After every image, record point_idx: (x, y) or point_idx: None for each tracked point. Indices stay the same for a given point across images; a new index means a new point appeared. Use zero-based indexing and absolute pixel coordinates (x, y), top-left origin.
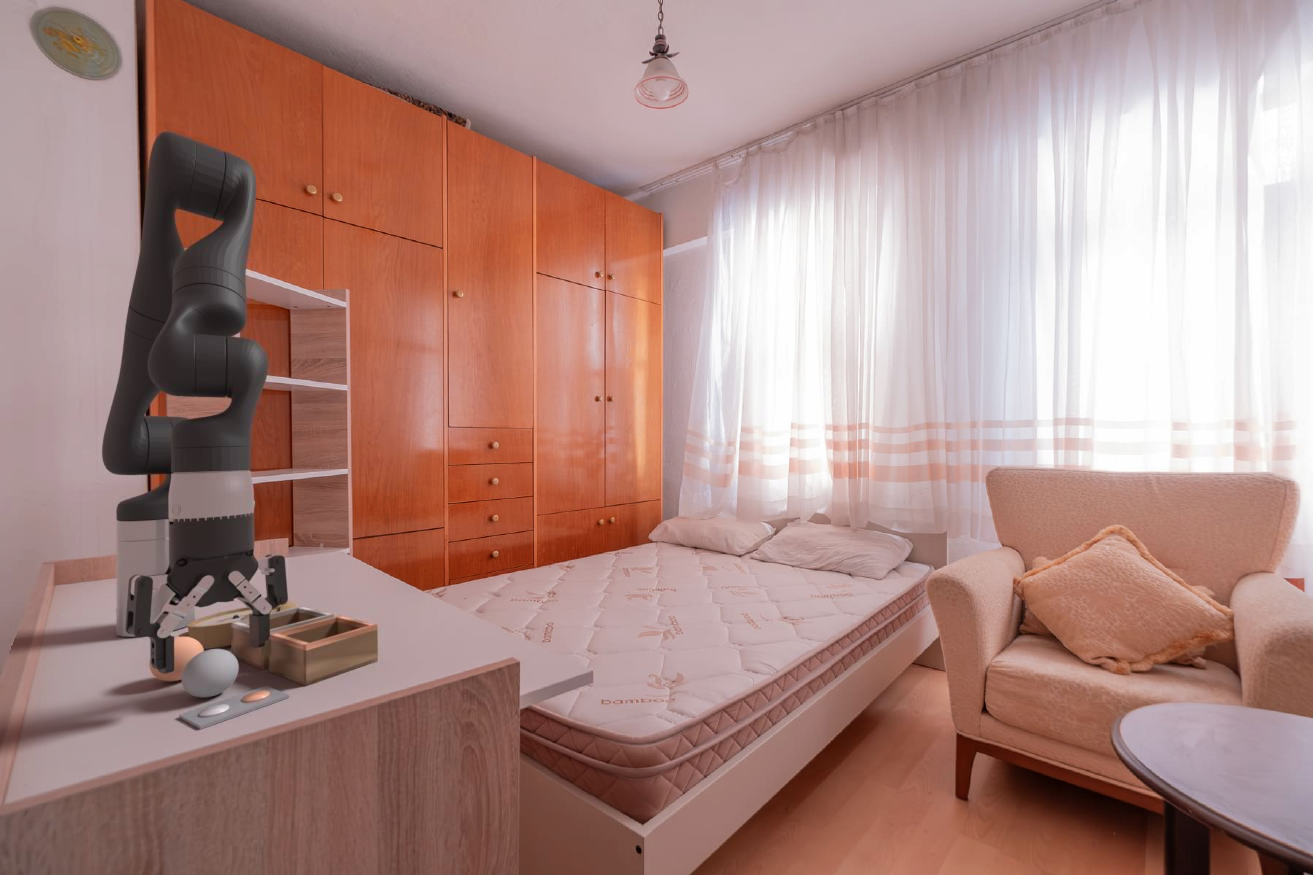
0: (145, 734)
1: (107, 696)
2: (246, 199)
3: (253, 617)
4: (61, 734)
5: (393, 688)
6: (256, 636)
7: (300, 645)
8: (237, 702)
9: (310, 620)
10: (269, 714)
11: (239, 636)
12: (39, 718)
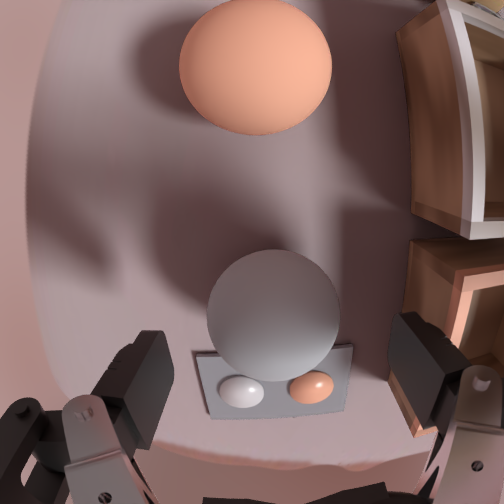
0: None
1: (123, 77)
2: None
3: (430, 398)
4: (55, 252)
5: (411, 451)
6: (400, 371)
7: (418, 420)
8: (282, 384)
9: None
10: (293, 435)
11: (438, 58)
12: (37, 124)
